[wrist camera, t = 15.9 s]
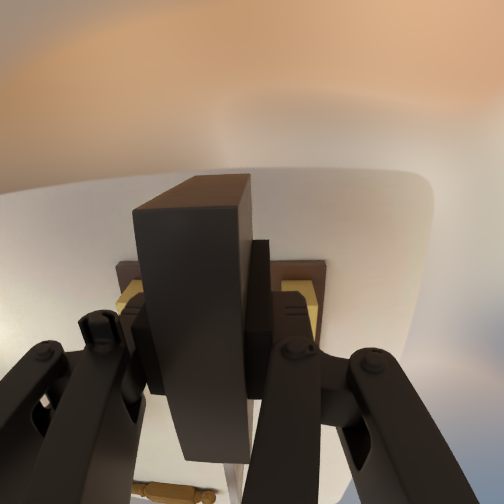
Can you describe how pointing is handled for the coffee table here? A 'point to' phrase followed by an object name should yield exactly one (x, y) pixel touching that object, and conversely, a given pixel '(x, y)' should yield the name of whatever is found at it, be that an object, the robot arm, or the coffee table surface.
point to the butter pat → (308, 292)
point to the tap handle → (173, 493)
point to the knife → (202, 313)
